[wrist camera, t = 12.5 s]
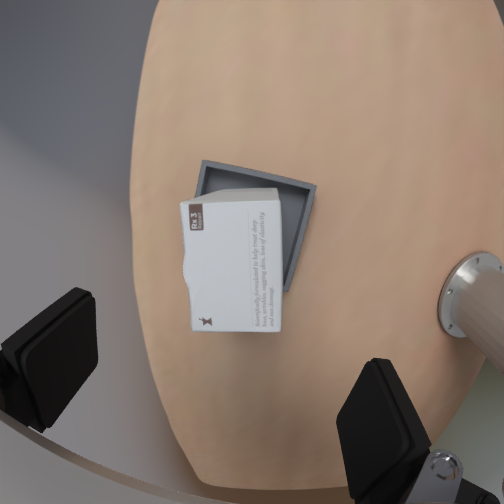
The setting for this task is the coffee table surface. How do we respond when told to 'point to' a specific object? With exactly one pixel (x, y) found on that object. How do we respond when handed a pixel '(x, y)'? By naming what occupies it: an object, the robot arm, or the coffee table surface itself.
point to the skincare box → (234, 260)
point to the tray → (290, 194)
